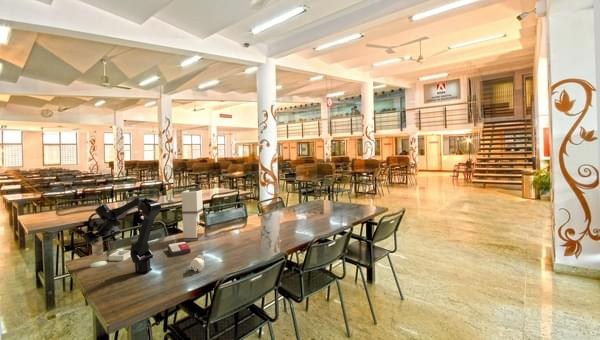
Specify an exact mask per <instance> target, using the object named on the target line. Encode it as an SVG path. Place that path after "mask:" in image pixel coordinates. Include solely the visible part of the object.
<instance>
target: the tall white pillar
mask: <svg viewBox="0 0 600 340" xmlns="http://www.w3.org/2000/svg"><path fill="white" fill-rule="evenodd" d="M203 207H204V206H203V190H202V189H200V190H197V191H190V190H189V189H187V190H184V191H181V208H182V211H181V212H182V231H183V233H182V234H183V242H187V241H189V242H190V241H191V242H192V241H200V240H201V239H202V238H203V237H204V236H205V235H204V234H205V233H204V232H198V229H197V228H198V225H200V224H201V223H200V222H201V221H200V215H202V214H203V213H204V209H203Z"/></svg>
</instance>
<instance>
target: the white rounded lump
mask: <svg viewBox="0 0 600 340" xmlns="http://www.w3.org/2000/svg"><path fill="white" fill-rule="evenodd" d="M205 264H206V262H205V258H204V256H203V255H202V254H198V255H197V256H196V257H195V258H193V259H192V261H190V264H189V265H188V266H187V268H189V270H193V271H194V272H200V273H201V272H202V271H203V270H204V269H205V267H206V266H205Z"/></svg>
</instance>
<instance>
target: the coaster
mask: <svg viewBox="0 0 600 340" xmlns="http://www.w3.org/2000/svg"><path fill="white" fill-rule="evenodd" d="M107 263H108V261H107V260H106V261H105V260H99V261H95V262H92V263H91V264H89V267H90V268H100V267H103V266H105V265H107Z"/></svg>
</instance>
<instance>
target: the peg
mask: <svg viewBox="0 0 600 340" xmlns="http://www.w3.org/2000/svg"><path fill="white" fill-rule="evenodd" d="M92 232H93V233H94V234H96V232H98V231H96V230H95V231H92ZM97 240H98V242H96V243H95V244H93V245H91V251H92V256H93V257H99V256H102V255H104V244H103V243H104V241H103V242H102V237H99V238H98V239H97Z"/></svg>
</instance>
